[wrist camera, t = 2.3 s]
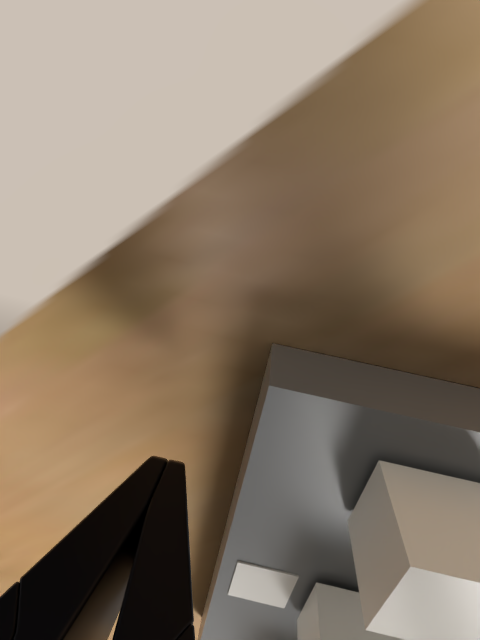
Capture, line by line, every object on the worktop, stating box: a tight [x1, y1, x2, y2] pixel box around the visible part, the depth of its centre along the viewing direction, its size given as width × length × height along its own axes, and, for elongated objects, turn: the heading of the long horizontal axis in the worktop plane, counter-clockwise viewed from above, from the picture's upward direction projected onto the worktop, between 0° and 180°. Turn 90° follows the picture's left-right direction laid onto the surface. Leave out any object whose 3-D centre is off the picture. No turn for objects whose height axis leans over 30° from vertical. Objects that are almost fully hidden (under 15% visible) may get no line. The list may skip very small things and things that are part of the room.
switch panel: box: [198, 343, 480, 640], centre depth 12 cm, size 14×16×2 cm
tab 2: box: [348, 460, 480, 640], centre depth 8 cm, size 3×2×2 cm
